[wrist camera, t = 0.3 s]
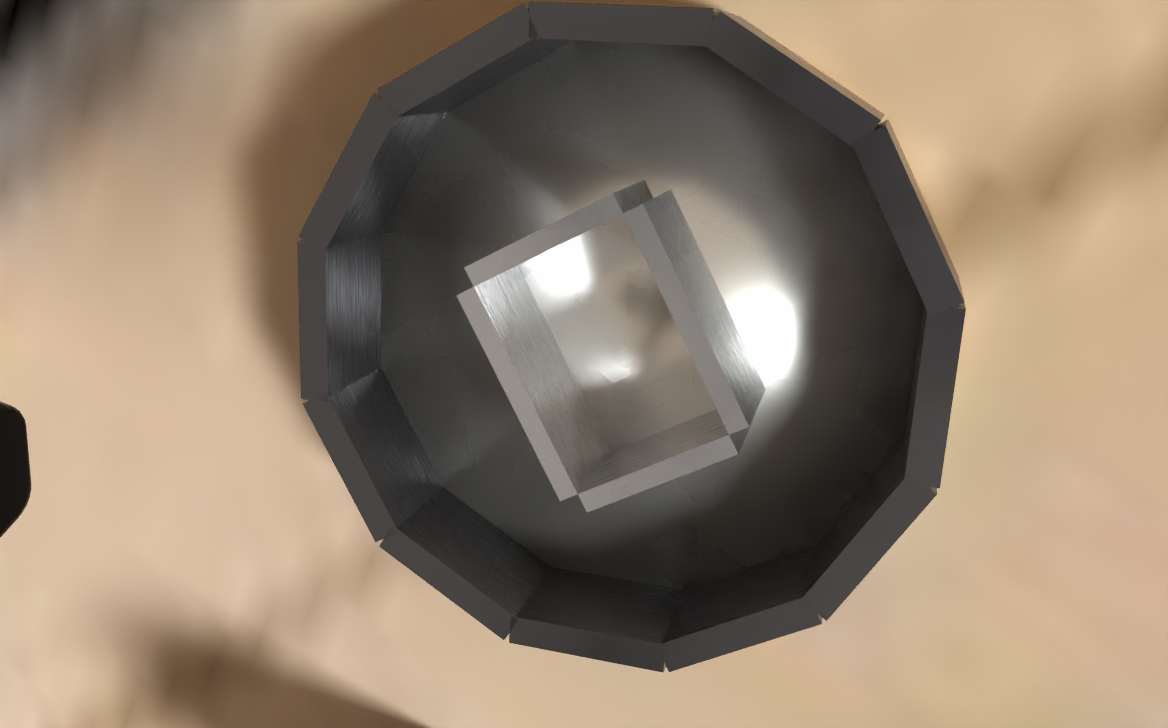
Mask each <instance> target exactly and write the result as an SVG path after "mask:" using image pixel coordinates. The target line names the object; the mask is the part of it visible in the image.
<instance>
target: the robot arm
mask: <svg viewBox="0 0 1168 728" xmlns="http://www.w3.org/2000/svg"><path fill="white" fill-rule="evenodd" d="M30 493H31V475H30V464H29V453H28V442H27V431H26V423H25V420H24V418H23V416H22V414H21V413H20V411H19V410H17V409H16V408H15V407H13V406H11V405H8V404H5V403H3V402H0V537H1V536H2V535H3V534H4V533H5V532H6V531H7V530H8V528H9V527H10V526H11V525H12V524H13V523H14V522H15V521H16V520H17V519H18V517H19V516H20V515H21V514H22V512H23V510H24V509H25V507H26V505H27V503H28V500H29V498H30Z"/></svg>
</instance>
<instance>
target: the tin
mask: <svg viewBox="0 0 1168 728" xmlns="http://www.w3.org/2000/svg"><path fill="white" fill-rule="evenodd" d="M377 90H378V92H379V94H373V95H372V97H371V99H370V101H369V103H368V105H367V107H366V109H365V111H364V113H363V115H362V116H361V118H360V120H359V122H358V124H357V126H356V128H355V130H354V132H353V134H352V136H351V137H350V139H349V141H348V143H347V145H346V147H345V149H344V151H343V153H342V155H341V157H340V158H339V160H338V162H337V164H336V166H335V168H334V170H333V172H332V174H331V176H330V177H329V179H328V181H327V183H326V185H325V187H324V189H323V191H322V193H321V195H320V197H319V198H318V200H317V202H316V204H315V206H314V208H313V210H312V212H311V214H310V216H309V218H308V219H307V221H306V223H305V225H304V227H303V229H302V231H301V233H300V235H299V236H300V237H301V238H302V239H304V240H302V241H298V281H299V322H300V363H301V398H302V399H309V401H307V402H306V403H304V404H303V405H304V407H305V409H306V411H307V413H308V415H309V417H310V419H311V420H312V422H313V424H314V426H315V428H316V430H317V432H318V434H319V436H320V438H321V439H322V441H323V443H324V445H325V447H326V449H327V451H328V453H329V455H330V456H331V458H332V460H333V462H334V464H335V466H336V468H337V470H338V472H339V474H340V475H341V477H342V479H343V481H344V483H345V485H346V487H347V489H348V491H349V493H350V494H351V496H352V498H353V500H354V502H355V504H356V506H357V508H358V510H359V512H360V513H361V515H362V517H363V519H364V521H365V523H366V525H367V527H368V529H369V530H370V532H371V534H372V536H373V538H374V540H375V542H377V541H379V540H382V539H384V540H383V541H382V543H381V544H380V546H379V547H381V548H382V549H383V550H385V551H386V552H387V553H389V554H390V555H391V556H393V557H394V558H395V559H397V560H398V561H399V562H401V563H402V564H403V565H405V566H406V567H407V568H409V569H410V570H411V571H413V572H414V573H415V574H417V575H418V576H419V577H421V578H422V579H423V580H425V581H426V582H427V583H429V584H430V585H431V586H433V587H434V588H435V589H437V590H438V591H439V592H441V593H442V594H443V595H445V596H446V597H447V598H449V599H450V600H451V601H453V602H454V603H455V604H457V605H458V606H459V607H461V608H462V609H463V610H465V611H466V612H467V613H469V614H470V615H471V616H472V617H474V618H475V619H476V620H478V621H479V622H480V623H482V624H483V625H484V626H486V627H487V628H488V629H490V630H491V631H492V632H494V633H495V634H496V635H498V636H499V637H500V638H502V639H503V640H504V639H505V638H506V637H507V635H508V634H509V633H510V635H509V643H514V644H519V645H524V646H530V647H535V648H540V649H545V650H550V651H556V652H561V653H566V654H571V655H576V656H581V657H587V658H592V659H597V660H602V661H607V662H612V663H618V664H623V665H628V666H633V667H638V668H644V669H649V670H654V671H659V672H664V669H665V667H667V669H668V671H669V672H671V671H674V670H677V669H680V668H683V667H687V666H690V665H693V664H696V663H699V662H702V661H706V660H709V659H712V658H715V657H718V656H721V655H725V654H728V653H731V652H734V651H737V650H740V649H744V648H747V647H750V646H753V645H756V644H759V643H763V642H766V641H769V640H772V639H775V638H778V637H782V636H785V635H788V634H791V633H794V632H797V631H801V630H804V629H807V628H810V627H813V626H816V625H820V624H822V618H824V619H825V620H826V621H827V620H828V619H829V617H830V616H831V615H832V614H833V613H834V612H835V611H836V609H837V608H838V607H839V606H840V605H841V604H842V602H843V601H844V600H845V599H846V598H847V597H848V596H849V594H850V593H851V592H852V591H853V590H854V589H855V588H856V586H857V585H858V584H859V583H860V582H861V581H862V580H863V578H864V577H865V576H866V575H867V574H868V573H869V572H870V570H871V569H872V568H873V567H874V566H875V565H876V564H877V562H878V561H879V560H880V559H881V558H882V557H883V556H884V554H885V553H886V552H887V551H888V550H889V549H890V547H891V546H892V545H893V544H894V543H895V542H896V541H897V539H898V538H899V537H900V536H901V535H902V534H903V533H904V531H905V530H906V529H907V528H908V527H909V526H910V525H911V523H912V522H913V521H914V520H915V519H916V518H917V517H918V515H919V514H920V513H921V512H922V511H923V510H924V509H925V507H926V506H927V505H928V504H929V503H930V502H931V500H932V499H933V498H934V497H935V496H936V495H937V488H940V482H941V476H942V469H943V462H944V455H945V448H946V441H947V434H948V427H949V421H950V414H951V407H952V400H953V393H954V386H955V379H956V372H957V365H958V359H959V352H960V345H961V338H962V331H963V324H964V317H965V310H966V309H965V304H964V297H963V293H962V289H961V285H960V280H959V277H958V274H957V272H956V270H955V268H954V265H953V263H952V261H951V259H950V256H949V254H948V252H947V250H946V247H945V245H944V243H943V241H942V238H941V236H940V234H939V232H938V230H937V227H936V225H935V223H934V221H933V218H932V216H931V214H930V212H929V209H928V207H927V204H926V201H925V198H924V196H923V194H922V192H921V190H920V188H919V186H918V184H917V182H916V180H915V178H914V176H913V174H912V171H911V169H910V167H909V165H908V162H907V160H906V158H905V156H904V153H903V151H902V149H901V147H900V144H899V142H898V140H897V138H896V135H895V133H894V131H893V129H892V127H891V124H890V122H889V120H886V121H884V122H882V123H880V124H879V122H880V121H881V119H882V117H883V116H884V114H883V113H881V112H880V111H878V110H877V109H876V108H874V107H873V106H871V105H870V104H868V103H867V102H865V101H864V100H862V99H861V98H859V97H858V96H856V95H855V94H853V93H852V92H850V91H849V90H848V89H846V88H845V87H843V86H842V85H840V84H839V83H837V82H836V81H834V80H833V79H831V78H830V77H829V76H827V75H826V74H825V73H824V72H822V71H821V70H820V69H818V68H817V67H816V66H815V65H813V64H811V63H810V62H808V61H806V60H804V59H803V58H801V57H799V56H798V55H796V54H795V53H793V52H792V51H790V50H789V49H787V48H786V47H784V46H783V45H781V44H780V43H778V42H777V41H775V40H774V39H773V38H771V37H770V36H768V35H767V34H765V33H764V32H762V31H761V30H759V29H758V28H756V27H755V26H753V25H752V24H750V23H749V22H747V21H746V20H745V19H743V18H742V17H739V16H736V15H733V14H730V13H727V12H723V11H720V10H717V9H714V8H689V7H662V6H635V5H608V4H582V3H555V2H530V4H525V3H523V4H521V5H520V6H518V7H516V8H514V9H513V10H511V11H509V12H508V13H506V14H504V15H503V16H501V17H499V18H498V19H496V20H494V21H492V22H491V23H489V24H487V25H486V26H484V27H482V28H481V29H479V30H477V31H476V32H474V33H472V34H471V35H469V36H467V37H465V38H464V39H462V40H460V41H459V42H457V43H455V44H454V45H452V46H450V47H449V48H447V49H445V50H443V51H442V52H440V53H438V54H437V55H435V56H433V57H432V58H430V59H428V60H427V61H425V62H423V63H421V64H420V65H418V66H416V67H415V68H413V69H411V70H410V71H408V72H406V73H405V74H403V75H401V76H399V77H398V78H396V79H394V80H393V81H391V82H389V83H388V84H386V85H384V86H383V87H381V88H379V89H377Z"/></svg>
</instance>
